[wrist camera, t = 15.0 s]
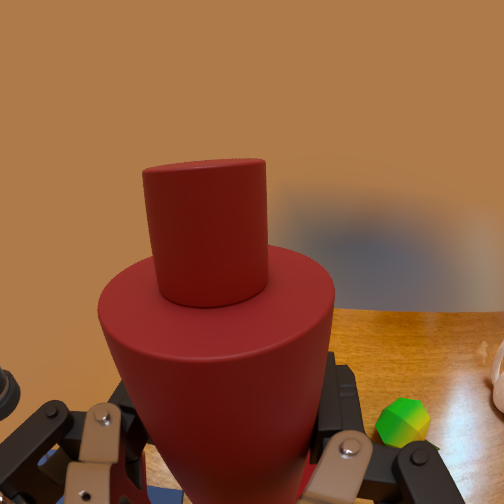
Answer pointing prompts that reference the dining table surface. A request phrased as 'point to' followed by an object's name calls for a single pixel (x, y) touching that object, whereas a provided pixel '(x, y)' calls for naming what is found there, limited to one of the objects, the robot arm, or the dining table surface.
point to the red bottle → (221, 335)
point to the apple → (403, 423)
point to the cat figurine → (498, 379)
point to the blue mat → (164, 495)
